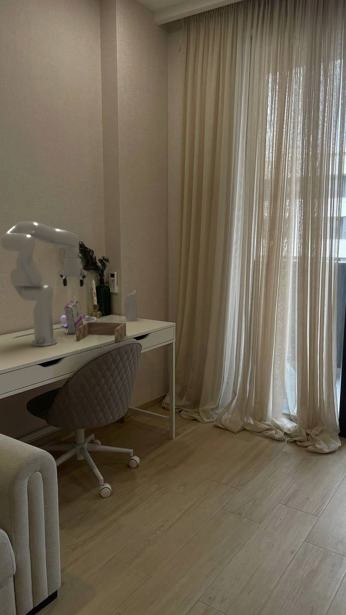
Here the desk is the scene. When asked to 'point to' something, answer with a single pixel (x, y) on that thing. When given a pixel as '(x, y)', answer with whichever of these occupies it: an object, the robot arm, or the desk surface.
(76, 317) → the candy bar box
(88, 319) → the headphones
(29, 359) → the desk surface
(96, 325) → the brown bent panel
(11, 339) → the desk surface
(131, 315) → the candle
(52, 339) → the robot arm
